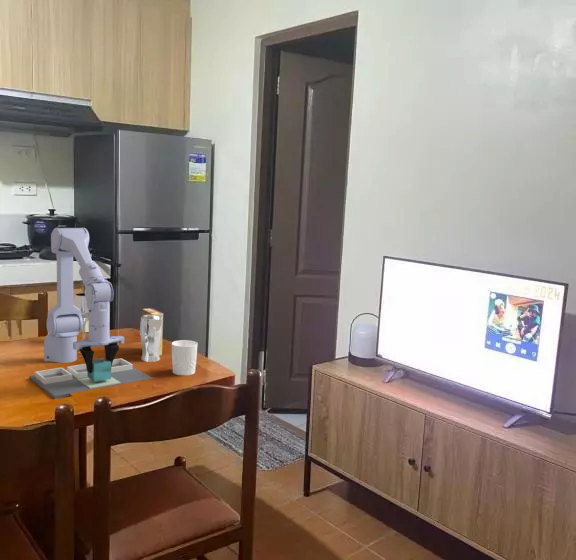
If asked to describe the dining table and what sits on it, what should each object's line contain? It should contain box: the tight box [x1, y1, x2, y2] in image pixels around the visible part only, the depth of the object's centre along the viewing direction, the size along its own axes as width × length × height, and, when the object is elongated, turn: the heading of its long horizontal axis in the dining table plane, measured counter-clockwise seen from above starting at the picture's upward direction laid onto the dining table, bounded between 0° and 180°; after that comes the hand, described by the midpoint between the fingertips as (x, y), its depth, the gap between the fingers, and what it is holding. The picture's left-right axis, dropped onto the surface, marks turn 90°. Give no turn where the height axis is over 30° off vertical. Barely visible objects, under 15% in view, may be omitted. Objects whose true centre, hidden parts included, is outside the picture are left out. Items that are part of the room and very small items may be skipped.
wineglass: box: [73, 292, 89, 340], centre depth 216 cm, size 8×8×18 cm
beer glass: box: [139, 315, 162, 363], centre depth 200 cm, size 7×7×15 cm
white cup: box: [171, 339, 198, 376], centre depth 188 cm, size 8×8×10 cm
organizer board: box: [29, 357, 153, 400], centre depth 180 cm, size 20×29×2 cm
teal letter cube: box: [87, 357, 111, 382], centre depth 175 cm, size 5×5×5 cm
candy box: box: [141, 308, 164, 356], centre depth 208 cm, size 9×4×15 cm, turn 36°
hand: (99, 370), depth 175 cm, fingers closed on teal letter cube, 5 cm apart
